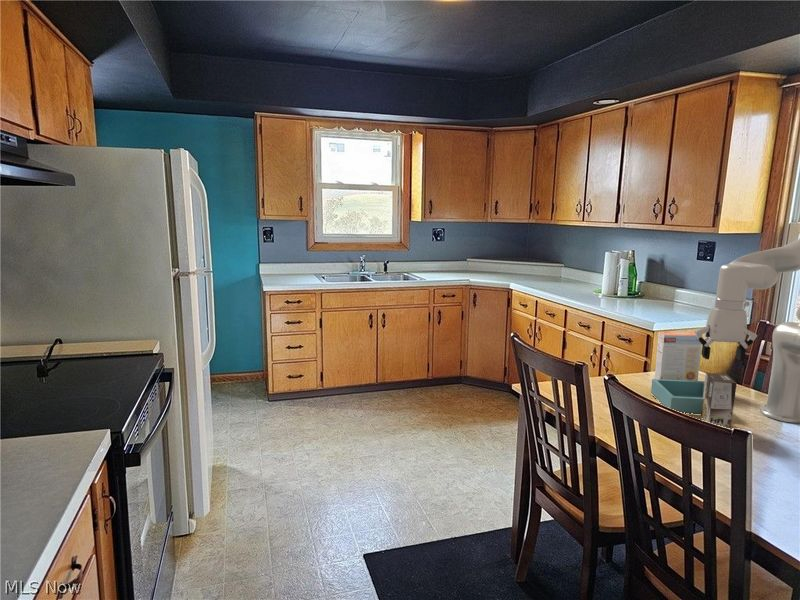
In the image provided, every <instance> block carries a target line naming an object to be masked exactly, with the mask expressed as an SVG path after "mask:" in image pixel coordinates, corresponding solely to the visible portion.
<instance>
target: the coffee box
mask: <svg viewBox="0 0 800 600" xmlns="http://www.w3.org/2000/svg"><path fill="white" fill-rule="evenodd" d="M704 381H705V384H704V393H703V402H702V412H701V416H700V419H701V418H703V419H702V420H704V421H707V422H710V423H713V424H716V425H720V426H723V427H726V428H731V427H732V420H733V412H734V405H735V401H736V400H735V399H736V398H735V397H736V391H737V384H738V382H736V381H735V380H734V379H733V378H732V377H731V376H730V375H729V374H727V373H715V372H714V373H713V372H705V377H704ZM702 420H701V421H702Z"/></svg>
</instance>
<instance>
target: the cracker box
mask: <svg viewBox="0 0 800 600" xmlns="http://www.w3.org/2000/svg"><path fill="white" fill-rule="evenodd" d="M657 335H658V337H657V344H656V345H657V349H656V356H655V359H656V360H655V370H654V371H655V372H654V379H665V380H689V381H699V373H700V372H699V371H700V363H701V355H702V354H701V353H702V344H701V343H700V342H699V341H698V339H697V337H696V334H695V331H658V334H657Z"/></svg>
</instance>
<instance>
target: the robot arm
mask: <svg viewBox="0 0 800 600" xmlns="http://www.w3.org/2000/svg"><path fill="white" fill-rule="evenodd" d="M799 270H800V238H798V239H796V240H794V241H791V242H790V243H787V244H785V245H783V246H780V247H774V248H770V249H764V250H759V251H754V252H751V253H748V254H745V255H742V256H740V257H737V258H736V259H734V260H732V261H731V262H729V263H728V264H727V263H726V264H723V265H721V266H720V268H719V271H718V281H717V288H716V296H715V303H714V307H711V309H710V311H709V312H708V313H709V314H708V317H707V320H706V325H705V327H703V328H700V329H698V330H695V331H694V332H695V334H696V337H697V339H698V341H699V342H700V343H701V354H700V355H701V356H702V358H704V359H705V360H710V356H711V355H710V354H711V347H710V346H711V345H712V344H713V343H714V342H718V343H719V342H722V343H736V344H738V345H737V346H736V349H735V356H734V357H735V359H736V360H738V361H740V362H744V358H745V356H746V350H747V349H748V348H749V346H751V345H752V344H754V341H755V340H756V339H757V337H758V334H756V333H755V332H753V331H751V330H750V329H748V318H747V317H748V316H747V314H748V313H747V310H746V307H749V306H750V302H749V301H747V300H746V298H747V292H748V289H754V290H767V289H770V288H772V287H773V286H775V285H776V283H777V281H778V279H779V273H781V274H783V273H792V272H793V273H794V272H797V271H799ZM795 316H796V319H797V320H798V321H800V305H799V306H798V308H797V311H796V315H795ZM703 335H704V337H705V338H703ZM747 335H748V338H746V337H747ZM772 348H773V349H772V351H773V356H772V364H771V371H770V379H769V385H768V390H767V391H768V392H767V399H766V404H764V405H763V404H762V405H760V407H759V412H760V413H761V414H762V415H764V416H766V417H768V418H771V419H773V420H776V421H781V422H785V423H793V424H800V322H794V321H786V322H782V323H779V324H778V325H776V326H775V327H774V329H773V332H772Z"/></svg>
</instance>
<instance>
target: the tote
mask: <svg viewBox="0 0 800 600" xmlns="http://www.w3.org/2000/svg"><path fill="white" fill-rule="evenodd" d="M704 384H705V380H698V381H689V380H665V379H655V378H652V379H651V388H650V390H651V391H650V394H651V393H652V394H653V395H654V396H655V397H656V398H657V399H658V400H659V402H661V403H660V404H662V405H664V406H666V407H669V408H671V409H674V410H676V411H679V412H682V413H684V412H685V414H686V413H689V414H691V413H693V414H701V412H702V402H703V393H704ZM659 402H658V403H659Z"/></svg>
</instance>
